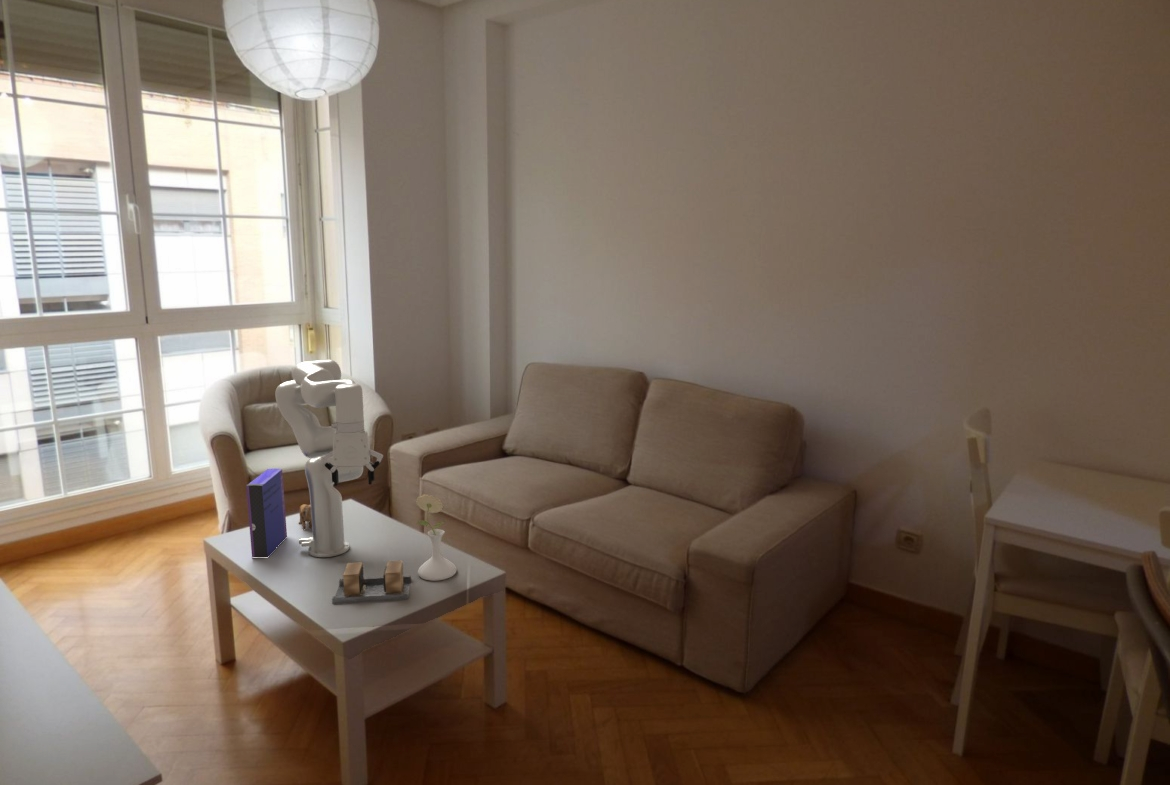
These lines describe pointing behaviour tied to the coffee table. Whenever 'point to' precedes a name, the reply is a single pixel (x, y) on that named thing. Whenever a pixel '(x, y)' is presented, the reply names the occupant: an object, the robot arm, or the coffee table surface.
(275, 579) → the coffee table surface
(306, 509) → the lion figurine
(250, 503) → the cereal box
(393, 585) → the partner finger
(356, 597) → the gray tray
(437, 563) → the flower in vase
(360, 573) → the block
